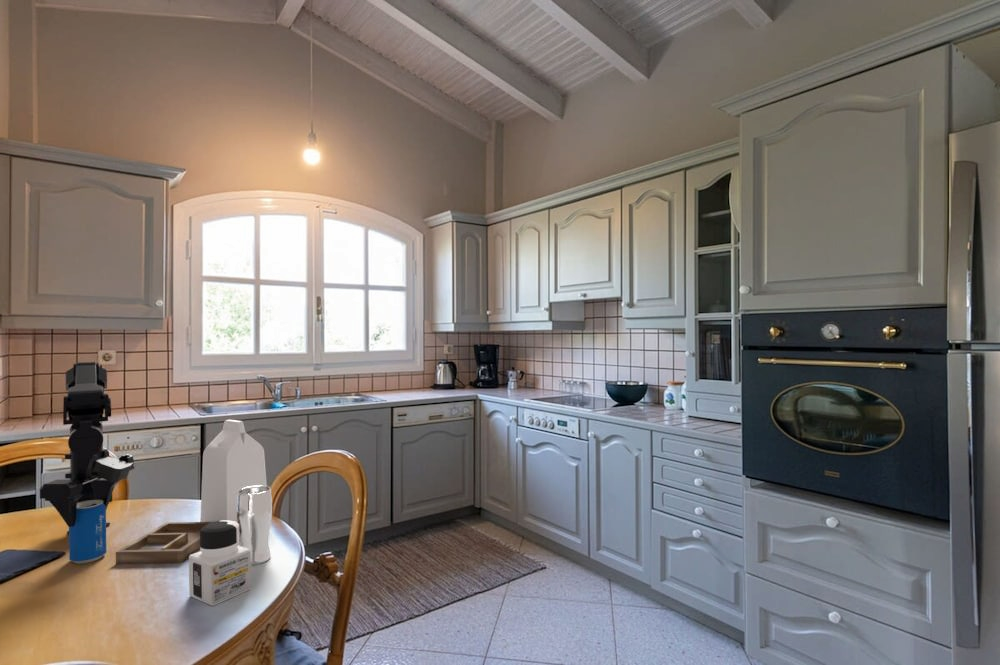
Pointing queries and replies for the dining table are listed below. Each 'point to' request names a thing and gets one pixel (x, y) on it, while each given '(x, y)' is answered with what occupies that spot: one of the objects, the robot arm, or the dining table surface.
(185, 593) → the dining table surface
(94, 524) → the beverage can
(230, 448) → the milk
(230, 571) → the container
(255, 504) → the beer glass
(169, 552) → the tray
